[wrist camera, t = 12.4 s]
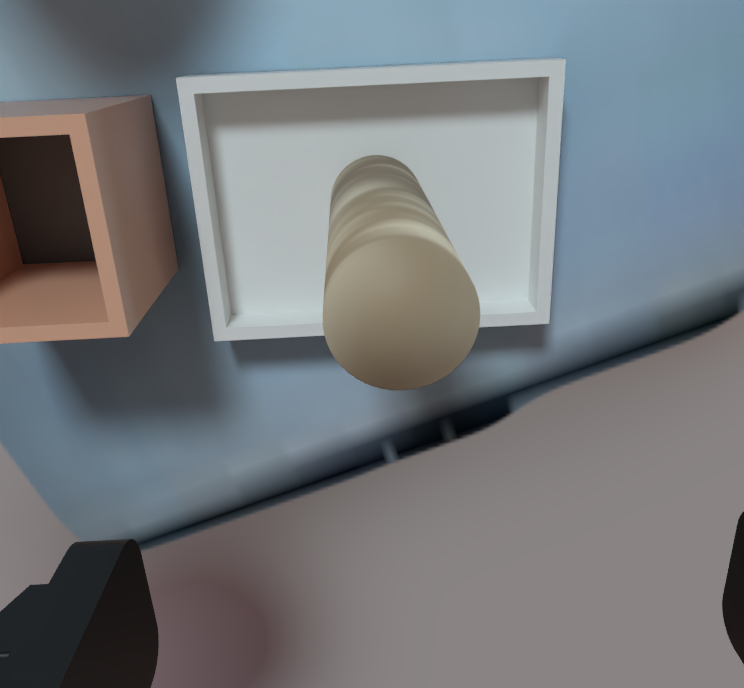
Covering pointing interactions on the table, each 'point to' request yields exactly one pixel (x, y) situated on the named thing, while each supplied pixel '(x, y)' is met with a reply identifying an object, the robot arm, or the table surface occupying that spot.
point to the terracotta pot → (92, 224)
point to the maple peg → (393, 281)
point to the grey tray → (360, 139)
